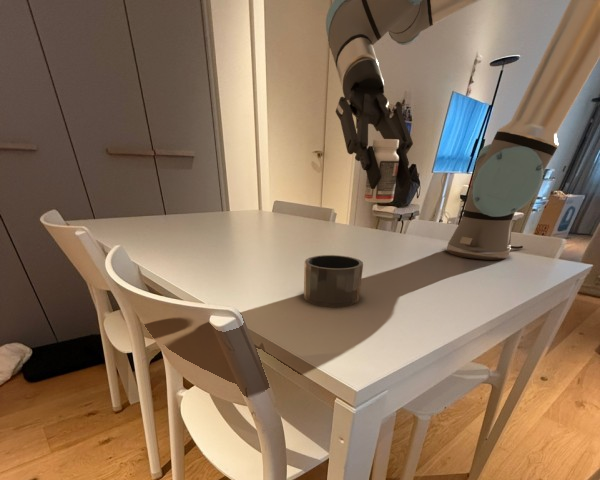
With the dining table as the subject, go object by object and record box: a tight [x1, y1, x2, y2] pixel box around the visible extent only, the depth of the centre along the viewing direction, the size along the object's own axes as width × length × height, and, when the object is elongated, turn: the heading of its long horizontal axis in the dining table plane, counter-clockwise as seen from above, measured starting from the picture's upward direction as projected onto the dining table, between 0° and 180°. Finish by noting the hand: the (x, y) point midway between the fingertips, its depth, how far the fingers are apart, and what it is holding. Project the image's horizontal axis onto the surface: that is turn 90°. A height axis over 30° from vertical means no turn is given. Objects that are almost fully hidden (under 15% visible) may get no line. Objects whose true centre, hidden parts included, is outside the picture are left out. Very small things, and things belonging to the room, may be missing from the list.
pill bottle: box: [364, 138, 399, 204], centre depth 65 cm, size 6×6×10 cm
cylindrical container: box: [303, 254, 364, 308], centre depth 57 cm, size 10×10×6 cm
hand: (391, 183), depth 63 cm, fingers closed on pill bottle, 6 cm apart
